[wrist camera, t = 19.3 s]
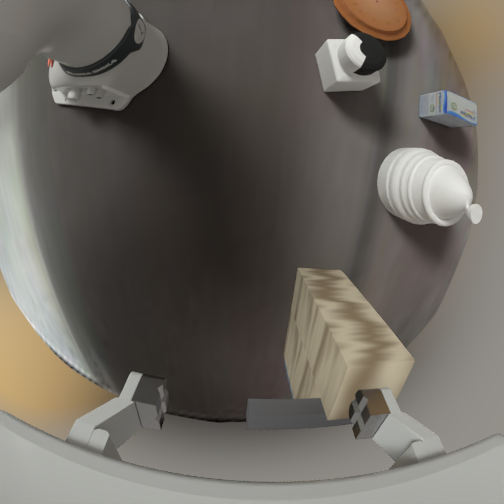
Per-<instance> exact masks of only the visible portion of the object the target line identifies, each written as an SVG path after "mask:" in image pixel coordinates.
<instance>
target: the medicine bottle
mask: <svg viewBox="0 0 504 504" xmlns="http://www.w3.org/2000/svg"><path fill="white" fill-rule="evenodd" d="M316 59H317V63H318V68H319V72H320V76H321V81H322V85H323V90H324V91H325V92H334V91H362V90H364V89H367V88H369V87H371V86H373V85H375V84H377V83H379V82H380V76H379V72H378V70H380V69H381V68H382V67H383V66H384V65H385V63H386V52H385V50H384V48H383V46H382V44H381V43H380V42H379V41H378V40H377V39H376V38H375V37H373V36H371V35H369V34H367V33H363V32H356V33H353V34H351V35H350V36H348V37H347V38H346V39H328V40H326V42H325V43H324V44H323V45H322V47H321V48H320V49H319V50H318V52H317V53H316Z"/></svg>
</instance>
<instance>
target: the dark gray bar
mask: <svg viewBox="0 0 504 504" xmlns="http://www.w3.org/2000/svg"><path fill="white" fill-rule="evenodd" d="M246 419H247V429H298V428H299V429H300V428H316V427H328V426H338V425H345V424H353V423H352V422H351V421H350V419H349V418H345V419H336V420H327V417H326V414H325V411H324V408H323V405H322V401H321V398H307V399H248V403H247V411H246Z"/></svg>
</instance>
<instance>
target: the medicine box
mask: <svg viewBox="0 0 504 504" xmlns="http://www.w3.org/2000/svg"><path fill="white" fill-rule="evenodd" d="M419 117H420V118H424V119H427V120H430V121H433V122H436V123H440V124H443V125H445V126H448V127H475V126H477V107H476V104H475V103H474V102H472V101H469V100H467V99H465V98H463V97H461V96H459V95H457V94H454V93H452V92H450V91H447V90H443V91H439V92H434V93H430V94H426V95H421V96H420V102H419Z"/></svg>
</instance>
